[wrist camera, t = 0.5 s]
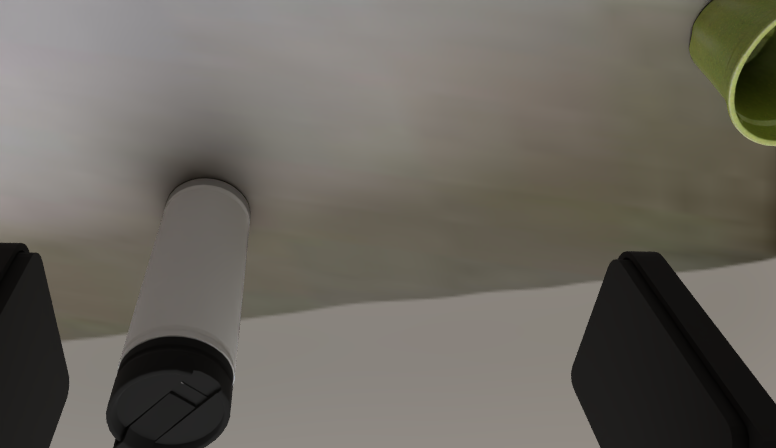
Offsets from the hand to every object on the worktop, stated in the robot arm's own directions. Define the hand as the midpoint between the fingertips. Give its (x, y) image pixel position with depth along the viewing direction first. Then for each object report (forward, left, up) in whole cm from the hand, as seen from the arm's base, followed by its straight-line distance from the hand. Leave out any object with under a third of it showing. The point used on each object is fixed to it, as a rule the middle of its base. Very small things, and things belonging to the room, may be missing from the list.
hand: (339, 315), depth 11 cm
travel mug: (+21, -6, -35) cm, 41 cm away
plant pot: (+3, +30, -35) cm, 46 cm away
